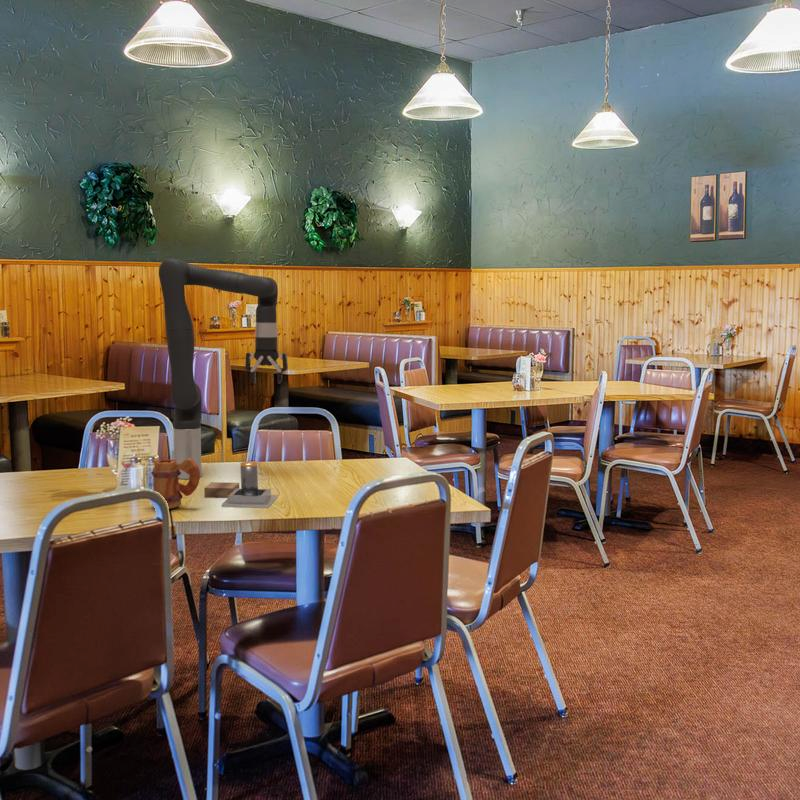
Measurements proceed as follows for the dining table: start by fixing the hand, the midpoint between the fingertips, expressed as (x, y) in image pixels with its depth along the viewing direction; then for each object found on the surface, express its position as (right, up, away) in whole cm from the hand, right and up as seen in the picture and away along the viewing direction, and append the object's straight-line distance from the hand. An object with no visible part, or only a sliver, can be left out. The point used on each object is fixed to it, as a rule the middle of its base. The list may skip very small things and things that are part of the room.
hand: (266, 383), depth 309 cm
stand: (-11, -36, -24) cm, 44 cm away
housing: (0, -37, -34) cm, 50 cm away
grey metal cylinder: (0, -36, -34) cm, 50 cm away
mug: (-20, -38, -43) cm, 61 cm away
